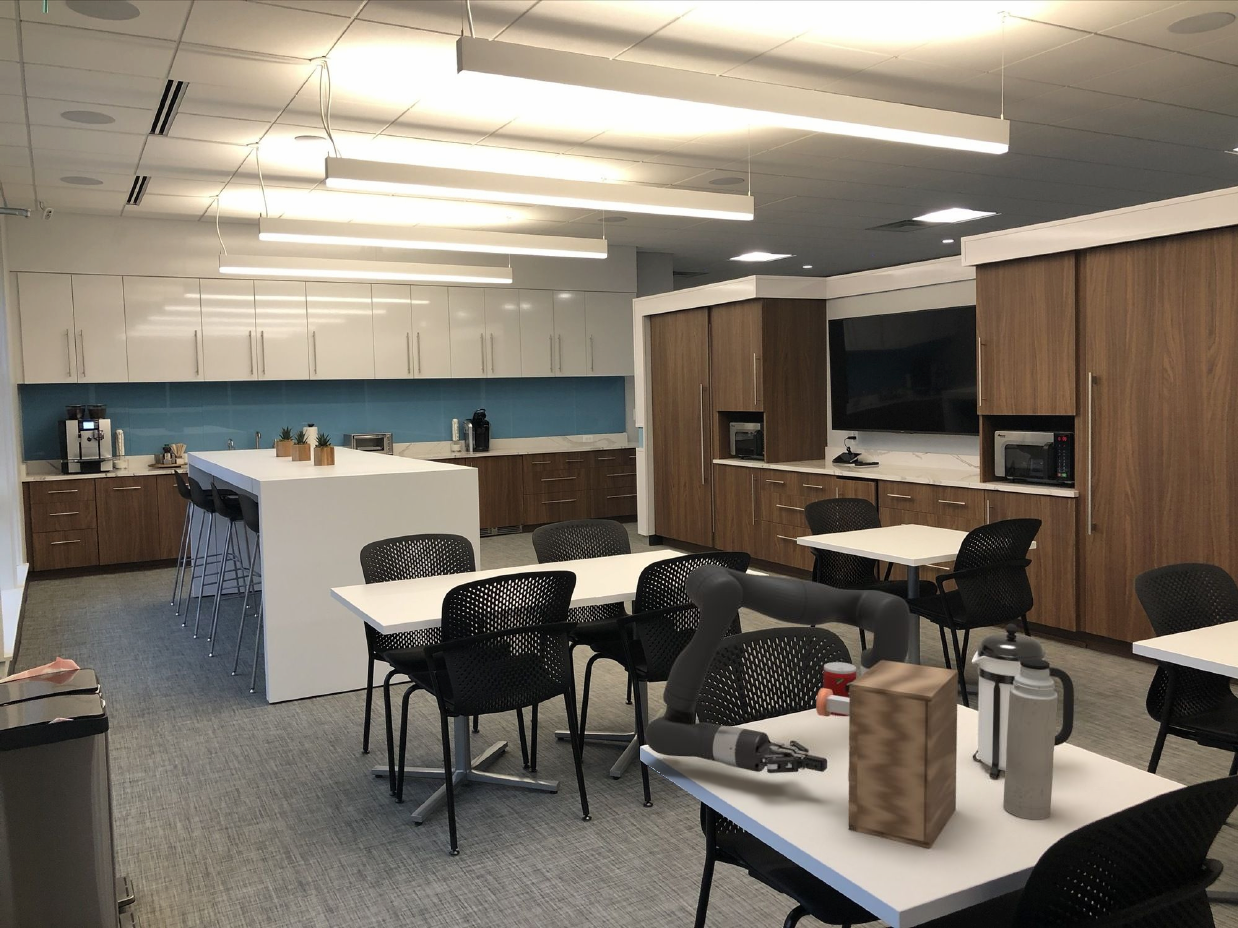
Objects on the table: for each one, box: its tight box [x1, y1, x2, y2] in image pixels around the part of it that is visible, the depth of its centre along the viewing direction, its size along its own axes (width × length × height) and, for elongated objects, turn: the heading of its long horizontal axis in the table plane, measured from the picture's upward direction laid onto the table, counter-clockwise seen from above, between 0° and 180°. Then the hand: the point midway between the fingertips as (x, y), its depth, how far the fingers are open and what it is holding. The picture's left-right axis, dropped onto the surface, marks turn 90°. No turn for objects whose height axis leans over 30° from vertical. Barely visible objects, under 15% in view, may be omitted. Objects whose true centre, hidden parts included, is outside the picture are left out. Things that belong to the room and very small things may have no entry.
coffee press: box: [971, 623, 1075, 780], centre depth 196 cm, size 17×16×30 cm
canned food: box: [823, 661, 857, 717], centre depth 233 cm, size 8×8×11 cm
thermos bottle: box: [1002, 658, 1058, 820], centre depth 175 cm, size 8×8×28 cm
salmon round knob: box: [815, 687, 849, 717], centre depth 177 cm, size 14×5×5 cm, turn 57°
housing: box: [848, 660, 959, 849], centre depth 173 cm, size 14×18×26 cm
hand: (825, 765), depth 181 cm, fingers closed
